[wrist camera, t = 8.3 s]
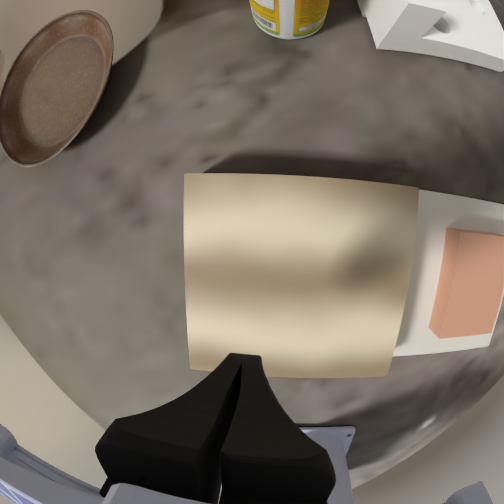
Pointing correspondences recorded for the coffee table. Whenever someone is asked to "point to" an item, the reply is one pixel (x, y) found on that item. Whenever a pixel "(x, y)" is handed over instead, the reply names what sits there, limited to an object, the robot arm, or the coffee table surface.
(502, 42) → the bracket
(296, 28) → the supplement bottle
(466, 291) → the tile
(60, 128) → the saucer
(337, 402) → the coffee table surface
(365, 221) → the beige flat block
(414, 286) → the mat
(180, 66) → the coffee table surface
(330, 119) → the coffee table surface
